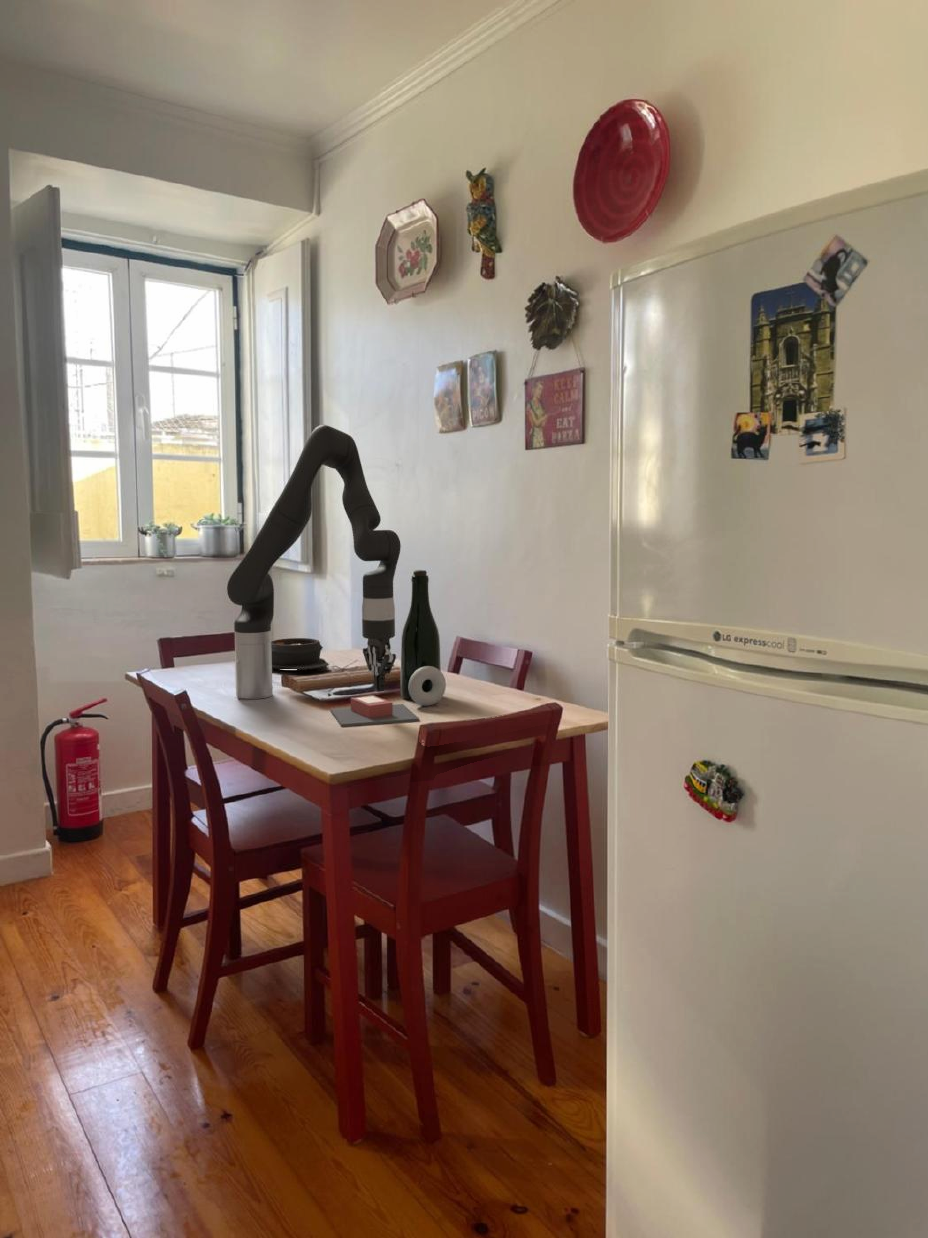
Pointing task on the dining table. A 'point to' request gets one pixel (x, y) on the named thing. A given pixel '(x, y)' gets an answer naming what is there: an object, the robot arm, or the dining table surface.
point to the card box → (371, 706)
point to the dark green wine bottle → (419, 636)
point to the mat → (355, 719)
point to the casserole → (297, 654)
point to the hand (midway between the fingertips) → (379, 690)
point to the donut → (418, 680)
